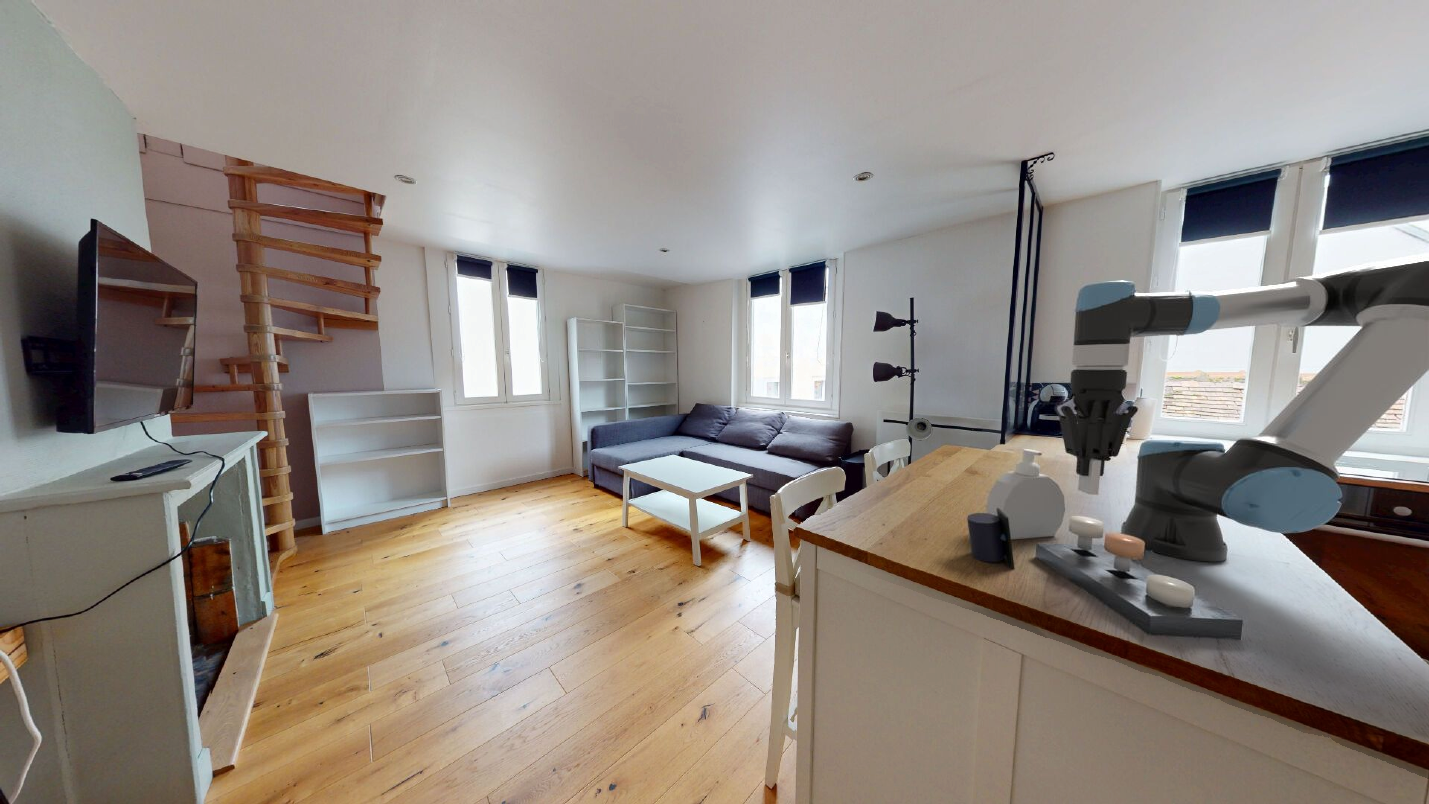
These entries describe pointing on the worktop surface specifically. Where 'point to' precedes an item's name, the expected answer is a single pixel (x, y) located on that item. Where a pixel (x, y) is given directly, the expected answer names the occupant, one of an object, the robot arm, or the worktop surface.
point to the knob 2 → (1170, 591)
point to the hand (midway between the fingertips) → (1088, 492)
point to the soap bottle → (1028, 500)
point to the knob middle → (1124, 549)
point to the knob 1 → (1086, 530)
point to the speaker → (990, 537)
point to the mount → (1136, 594)
